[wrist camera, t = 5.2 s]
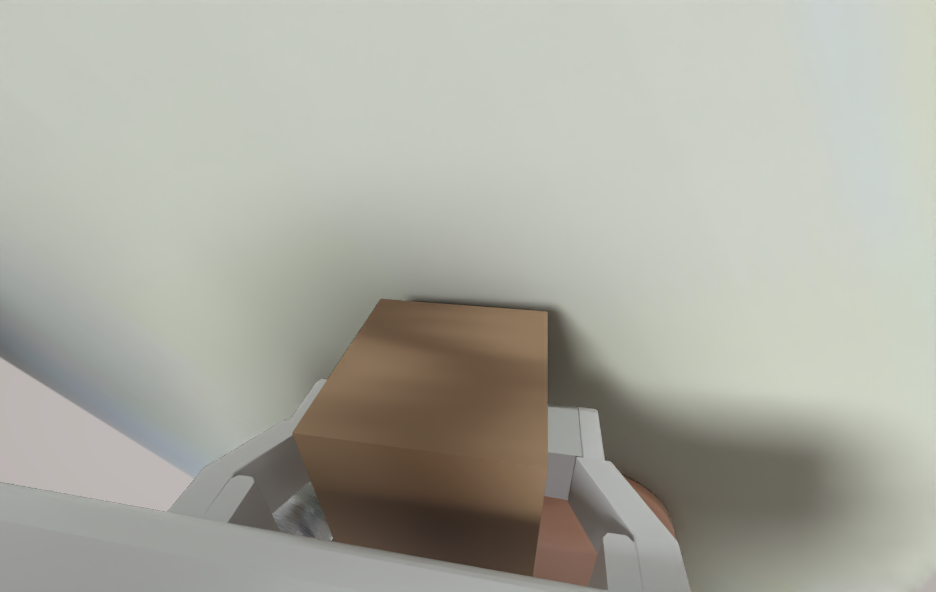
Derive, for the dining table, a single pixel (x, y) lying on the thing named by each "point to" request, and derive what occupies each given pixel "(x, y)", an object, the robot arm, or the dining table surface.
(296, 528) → the tin
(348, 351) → the walnut block
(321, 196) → the dining table surface
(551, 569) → the pink glossy round part
